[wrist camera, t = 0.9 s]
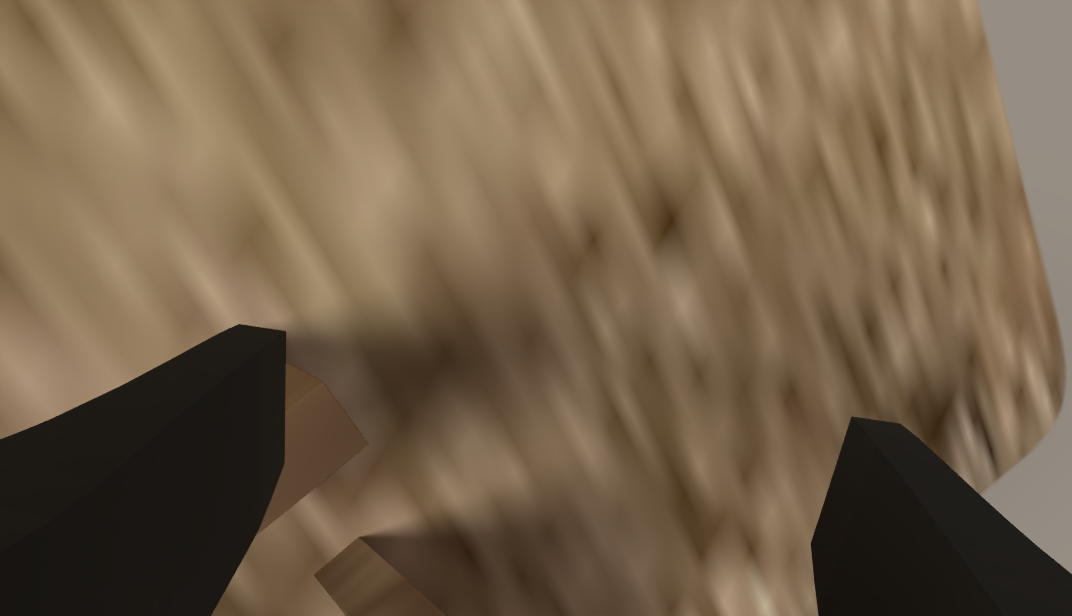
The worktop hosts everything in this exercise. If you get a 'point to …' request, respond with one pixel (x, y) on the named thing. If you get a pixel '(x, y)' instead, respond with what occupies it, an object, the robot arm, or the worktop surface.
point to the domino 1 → (311, 440)
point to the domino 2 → (371, 585)
